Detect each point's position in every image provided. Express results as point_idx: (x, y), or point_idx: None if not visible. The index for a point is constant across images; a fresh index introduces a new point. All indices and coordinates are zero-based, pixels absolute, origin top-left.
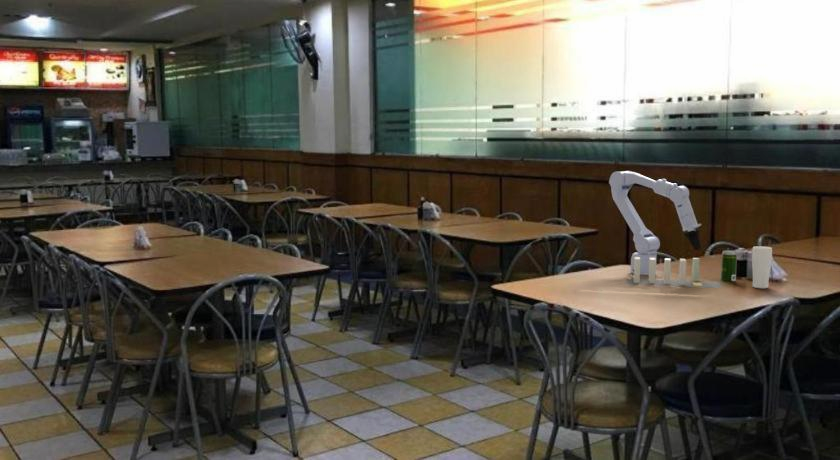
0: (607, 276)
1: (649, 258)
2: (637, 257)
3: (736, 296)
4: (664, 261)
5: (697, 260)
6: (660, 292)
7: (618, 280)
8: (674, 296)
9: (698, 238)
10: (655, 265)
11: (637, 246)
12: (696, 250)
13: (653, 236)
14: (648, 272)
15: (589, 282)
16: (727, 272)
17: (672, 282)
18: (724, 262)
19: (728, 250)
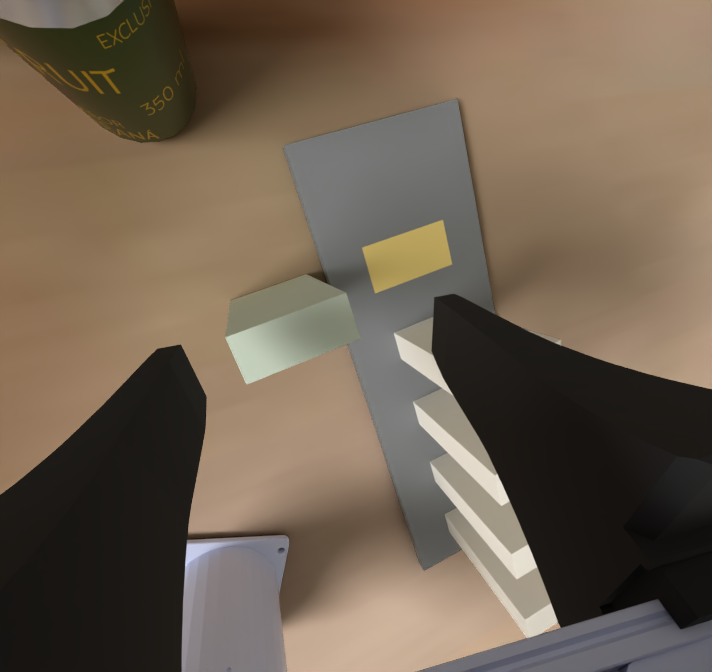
0: (362, 663)
1: (514, 573)
2: (537, 623)
3: (581, 4)
4: (488, 489)
5: (348, 308)
6: (596, 355)
7: (429, 586)
8: (648, 283)
9: (581, 353)
10: (223, 597)
11: None
12: (201, 392)
13: None
14: (271, 573)
15: (511, 622)
16: (185, 51)
17: (424, 381)
18: (163, 40)
19: None
